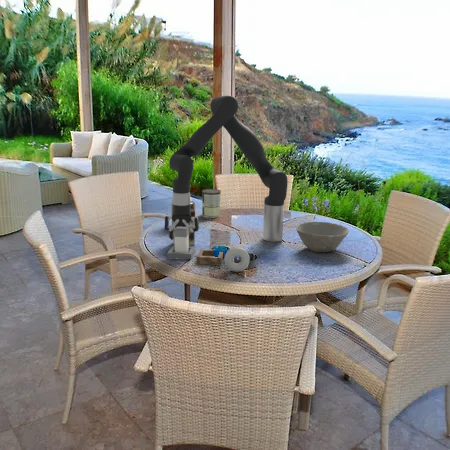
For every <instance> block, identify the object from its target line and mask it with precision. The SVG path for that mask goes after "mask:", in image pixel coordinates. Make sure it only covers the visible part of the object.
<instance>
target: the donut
mask: <svg viewBox="0 0 450 450" xmlns="http://www.w3.org/2000/svg"><path fill="white" fill-rule="evenodd" d="M234 257H239V258H240V262H238V263H237V262H235V261H234V260H233V259H234ZM223 260H224V264H225V266H226V268H227V269H228V270H230V271H232V272H236V273H238V272H242V271H244V270H246V269H247V267H249V264H250V261H251V260H250V255H249V253H248V251H247V250H246V249H245V248H243V247H239V246H236V247H232V248H230V249H228V250H227V251H226V253H225V254H224V258H223Z"/></svg>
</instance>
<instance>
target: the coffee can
mask: <svg viewBox="0 0 450 450" xmlns="http://www.w3.org/2000/svg"><path fill="white" fill-rule="evenodd" d="M221 193H222V190H220V189H217V188H207V189H202V195H201V196H202V202H201V203H202V205H201V206H202V214H201V216H202V217H203V218H209V219H211V218H212V219H213V218H214V219H215V218H220V217H221Z"/></svg>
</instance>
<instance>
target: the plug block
mask: <svg viewBox="0 0 450 450" xmlns="http://www.w3.org/2000/svg"><path fill="white" fill-rule="evenodd" d="M174 246H175V252H181V253H189V229H188V228H187V227H176V229H175V245H174Z"/></svg>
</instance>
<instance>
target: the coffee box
mask: <svg viewBox="0 0 450 450" xmlns="http://www.w3.org/2000/svg"><path fill="white" fill-rule="evenodd" d="M191 217H196V210H195V211H194V210H193V209H191ZM190 223H191V224H192V226H193V228H195V222H193V220H191V221H190ZM173 224H174V222H173ZM176 227H178V226H175V227H174V228H173V240H172V243H173V246H175V229H176ZM180 227H182V226H180ZM185 227H187V226H185ZM195 233H196V231H195V232H194V239H193V241H191V231H190V230H189V246H191V247H195V246H194V245H195V243H196V241H195V239H196V238H195V237H196V234H195Z"/></svg>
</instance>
